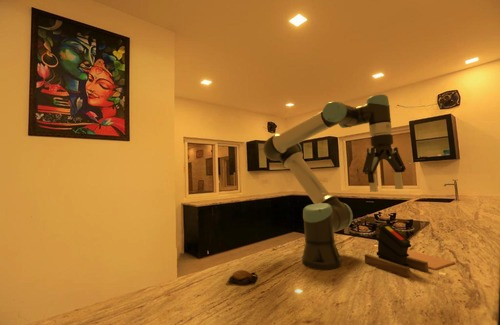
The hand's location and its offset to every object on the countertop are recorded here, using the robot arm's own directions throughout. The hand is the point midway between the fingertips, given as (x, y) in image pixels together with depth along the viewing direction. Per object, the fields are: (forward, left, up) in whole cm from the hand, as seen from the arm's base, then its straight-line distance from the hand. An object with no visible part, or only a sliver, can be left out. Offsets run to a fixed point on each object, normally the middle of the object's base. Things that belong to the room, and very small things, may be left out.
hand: (387, 190), depth 90 cm
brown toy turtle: (-54, +18, -29) cm, 64 cm away
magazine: (0, 0, -28) cm, 29 cm away
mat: (+14, 0, -28) cm, 31 cm away
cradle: (0, 0, -28) cm, 28 cm away
